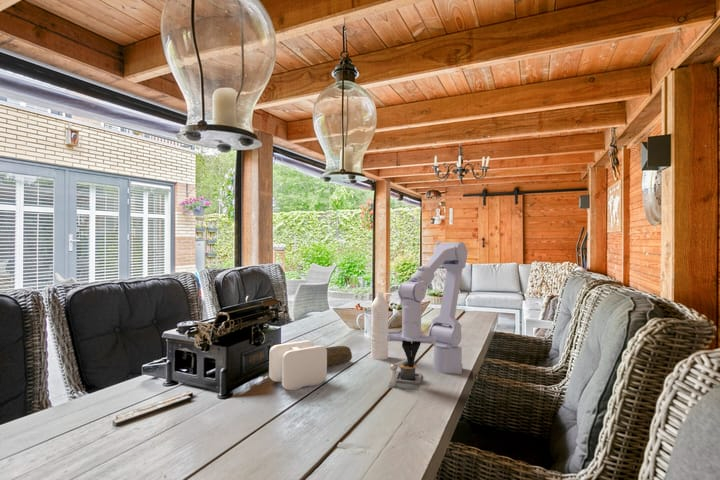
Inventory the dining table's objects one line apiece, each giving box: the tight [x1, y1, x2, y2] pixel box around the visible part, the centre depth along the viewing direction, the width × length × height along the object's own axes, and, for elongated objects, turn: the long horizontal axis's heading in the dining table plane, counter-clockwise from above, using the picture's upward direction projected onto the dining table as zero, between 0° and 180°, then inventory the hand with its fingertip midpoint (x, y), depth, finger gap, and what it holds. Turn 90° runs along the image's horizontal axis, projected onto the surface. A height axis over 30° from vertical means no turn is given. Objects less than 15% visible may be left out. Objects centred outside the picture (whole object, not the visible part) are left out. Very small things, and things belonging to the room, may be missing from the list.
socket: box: [387, 368, 423, 391], centre depth 116 cm, size 9×14×6 cm, turn 166°
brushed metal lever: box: [390, 358, 408, 370], centre depth 115 cm, size 10×2×1 cm, turn 140°
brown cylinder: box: [325, 345, 353, 368], centre depth 132 cm, size 15×7×7 cm, turn 131°
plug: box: [400, 361, 416, 381], centre depth 117 cm, size 5×5×5 cm
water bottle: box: [370, 291, 392, 361], centre depth 139 cm, size 9×6×25 cm
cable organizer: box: [268, 339, 328, 392], centre depth 116 cm, size 15×11×12 cm
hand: (411, 366), depth 113 cm, fingers closed
